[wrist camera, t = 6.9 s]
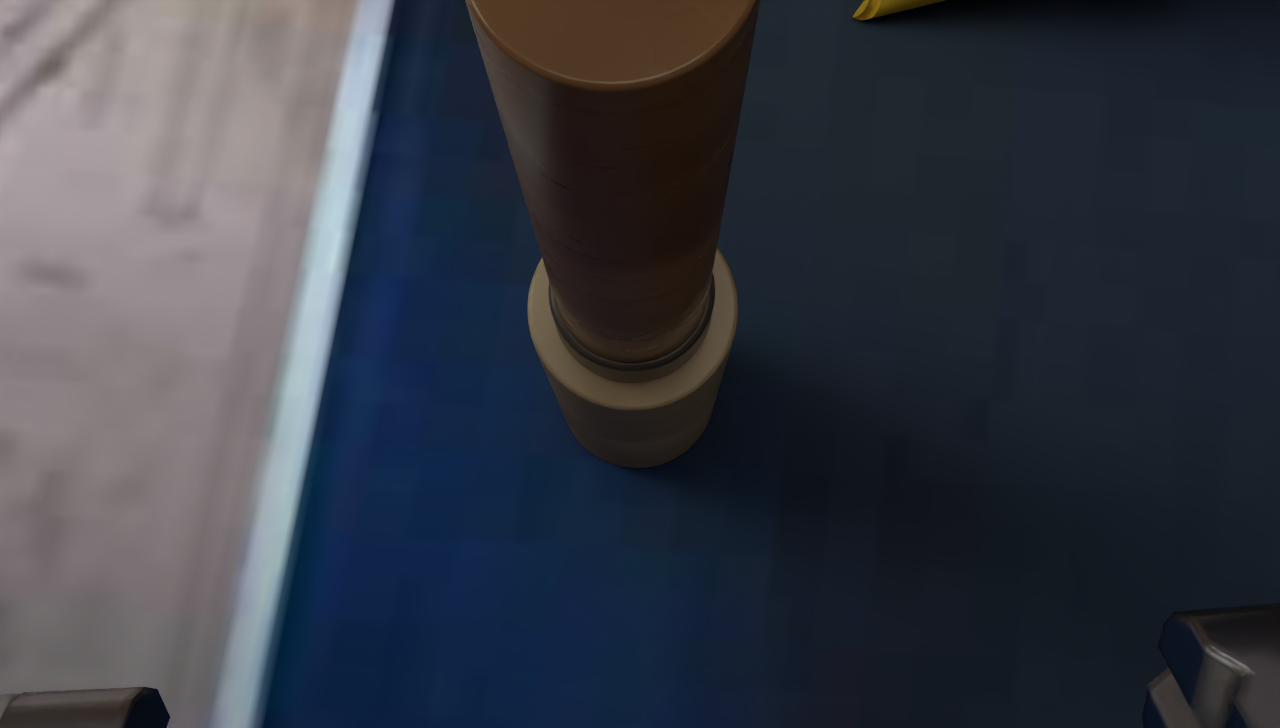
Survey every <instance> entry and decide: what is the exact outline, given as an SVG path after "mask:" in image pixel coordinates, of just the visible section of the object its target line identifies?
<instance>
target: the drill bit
mask: <svg viewBox="0 0 1280 728" xmlns="http://www.w3.org/2000/svg"><path fill="white" fill-rule="evenodd" d="M941 1H945V0H864V2H863V3H862V4H861V6H860V7H859V8H858V10H857V11H856V12H855V14H854V15H853V17H854V18H855V19H858V20H867V19H871V18H875V17H880V16H884V15H888V14H892V13H896V12H900V11H904V10H908V9H912V8H916V7H920V6H924V5H928V4H933V3H937V2H941Z"/></svg>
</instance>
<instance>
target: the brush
mask: <svg viewBox="0 0 1280 728" xmlns="http://www.w3.org/2000/svg"><path fill="white" fill-rule="evenodd" d="M466 4H467V7H468V10H469V14H470V17H471V20H472V24H473V27H474V30H475V34H476V37H477V41H478V44H479V47H480V51H481V54H482V57H483V61H484V64H485V67H486V71H487V74H488V77H489V81H490V84H491V87H492V91H493V94H494V97H495V101H496V104H497V108H498V111H499V114H500V118H501V121H502V124H503V128H504V131H505V134H506V138H507V141H508V144H509V148H510V151H511V154H512V158H513V161H514V164H515V168H516V171H517V175H518V178H519V181H520V185H521V188H522V191H523V195H524V198H525V201H526V205H527V208H528V211H529V215H530V218H531V221H532V225H533V228H534V231H535V235H536V238H537V242H538V245H539V248H540V252H541V255H542V259H541V260H540V262H539V264H538V266H537V268H536V270H535V273H534V276H533V279H532V281H531V286H530V290H529V295H528V307H527V308H528V323H529V328H530V334H531V337H532V340H533V343H534V346H535V348H536V351H537V353H538V356H539V358H540V360H541V363H542V365H543V367H544V370H545V372H546V375H547V377H548V379H549V382H550V384H551V386H552V389H553V391H554V393H555V396H556V398H557V401H558V403H559V405H560V408H561V410H562V412H563V415H564V417H565V419H566V422H567V424H568V426H569V428H570V430H571V431H572V433H573V434H574V436H575V437H576V439H577V440H578V441H579V442H580V443H581V444H582V445H583V446H584V447H585V448H586V449H587V450H588V451H589V452H591V453H592V454H594V455H595V456H597V457H598V458H600V459H602V460H604V461H606V462H608V463H611V464H614V465H617V466H622V467H628V468H647V467H653V466H658V465H661V464H664V463H667V462H669V461H671V460H673V459H675V458H677V457H678V456H680V455H681V454H683V453H684V452H686V451H687V450H688V449H689V448H690V447H691V446H693V445H694V443H695V442H696V441H697V440H698V439H699V438H700V436H701V435H702V433H703V432H704V430H705V428H706V426H707V424H708V422H709V420H710V417H711V414H712V411H713V408H714V404H715V401H716V397H717V394H718V390H719V387H720V384H721V380H722V377H723V373H724V370H725V367H726V363H727V360H728V356H729V353H730V349H731V346H732V343H733V339H734V336H735V332H736V326H737V321H738V298H737V291H736V286H735V282H734V279H733V276H732V273H731V271H730V268H729V266H728V264H727V262H726V260H725V258H724V257H723V255H722V254H721V252H720V251H719V250H718V248H717V244H718V238H719V233H720V227H721V221H722V215H723V210H724V204H725V198H726V193H727V187H728V181H729V176H730V170H731V164H732V159H733V153H734V147H735V142H736V136H737V130H738V125H739V119H740V113H741V107H742V102H743V96H744V90H745V85H746V79H747V73H748V68H749V62H750V56H751V51H752V45H753V39H754V34H755V28H756V22H757V17H758V11H759V5H760V0H466Z"/></svg>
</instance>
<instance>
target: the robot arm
mask: <svg viewBox="0 0 1280 728" xmlns="http://www.w3.org/2000/svg"><path fill="white" fill-rule="evenodd" d="M1158 648H1159V650H1160V652H1161V654H1162V656H1163V657H1164V659H1165V661H1166V663H1167V665H1168V668H1167V669H1166V670H1165V671H1163V672H1162V673H1161V674H1160V675H1159V676H1158V677H1157V678H1156V679H1154V680H1153V681H1152V682H1151V683H1150V684H1149V685H1148V688H1147V693H1146V698H1145V703H1144V708H1143V713H1142V718H1143V728H1280V603H1275V604H1263V605H1251V606H1238V607H1226V608H1214V609H1202V610H1190V611H1178V612H1173V613H1172V614H1171V616H1170V617H1169V618H1168V619H1167V620H1166V621H1165V623H1164V624H1163V628H1162V632H1161V635H1160V639H1159V643H1158ZM169 719H170V716H169V713H168V711H167V709H166V707H165V705H164V703H163V700H162V698H161V696H160V694H159V692H158V689H153V688H148V687H131V688H110V689H88V690H67V691H45V692H24V693H22V694H3V695H0V728H167V725H168V722H169Z"/></svg>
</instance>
